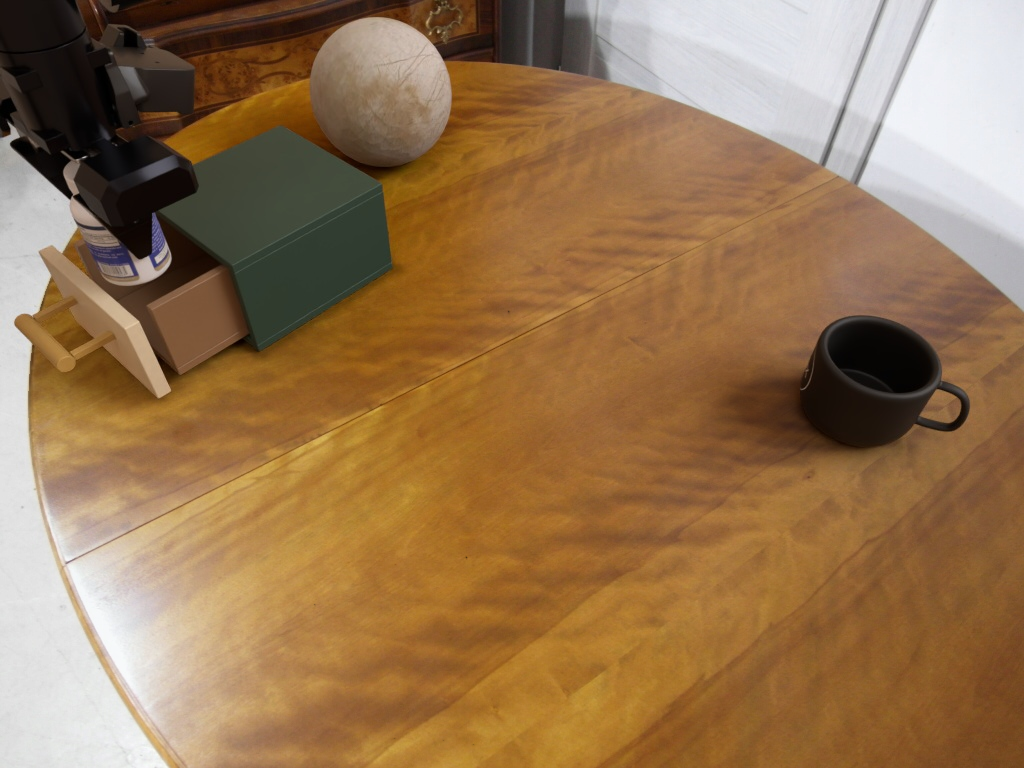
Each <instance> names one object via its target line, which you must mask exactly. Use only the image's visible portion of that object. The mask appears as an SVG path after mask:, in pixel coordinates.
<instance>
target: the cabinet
mask: <svg viewBox="0 0 1024 768" xmlns="http://www.w3.org/2000/svg"><path fill="white" fill-rule="evenodd" d="M192 165H193V168H194V172H195V175H196V178H197V181H198V184H199V187H198V190H197V192H196V193H195V194H192V195H190V196H188V197H186V198H184V199H182V200H180V201H178V202H175V203H173V204H171V205H169V206H167V207H165V208H163V209H160V210H158V211H156V212H155V214H156V215H158V216H159V217H160V218H162V219H163V220H164V221H166V222H167V223H168V224H170V225H171V226H172V227H174V228H175V229H176V230H178V231H179V232H180V233H182V234H183V235H184V236H186V237H187V238H188V239H190V240H191V241H192V242H194V243H195V244H196V245H198V246H199V247H200V248H202V249H203V250H204V251H206V252H207V253H208V254H210V255H211V256H212V257H214V258H215V259H216V260H218V261H219V262H220V263H222V264H223V265H224V266H226V267H227V268H228V269H229V271H230V274H231V278H232V281H233V284H234V287H235V290H236V293H237V296H238V299H239V302H240V305H241V308H242V311H243V315H244V318H245V321H246V324H247V327H248V330H249V334H248V335H246V336H244V337H243V338H242V340H244V341H245V342H247V343H248V344H249V345H250V346H252V348H254V349H255V350H256V351H258V352H259V353H260V352H262V351H263V350H265V349H266V348H268V347H269V346H271V345H272V344H274V343H276V342H278V341H279V340H281V339H283V337H285V336H288V334H290V333H292V332H293V331H295V330H296V329H299V328H300V327H301V326H303V325H305V324H306V323H308V322H309V321H311V320H313V319H314V318H317V316H319V315H321V314H322V313H324V312H326V311H327V310H328V309H331V308H332V307H333V306H335V305H337V304H338V303H340V302H342V301H343V300H345V299H346V298H348V297H350V296H351V295H352V294H354V293H356V292H357V291H359V290H360V289H362V288H364V287H365V286H367V285H369V284H370V283H372V282H373V281H375V280H376V279H378V278H380V277H382V276H383V275H384V274H386V273H388V272H390V271H391V270H392V269H394V267H393V259H392V252H391V250H392V249H391V242H390V234H389V227H388V220H387V219H388V218H387V212H386V211H387V210H386V204H385V195H384V188H383V183H382V182H380V181H379V180H377V179H375V178H374V177H372V176H371V175H369V174H366V173H365V172H364V171H361V170H360V169H358V168H357V167H355V166H353V165H351V164H349V163H348V162H347V161H344V160H343V159H341V158H339V157H337V156H336V155H334V154H332V153H331V152H329V151H327V150H325V149H324V148H322V147H320V146H318V145H317V144H315V143H313V142H312V141H310V140H308V139H306V138H305V137H303V136H301V135H299V134H298V133H297V132H294V131H292V130H291V129H289V128H287V126H286V127H285V126H284V125H283V124H280V125H278V126H275V127H273V128H271V129H269V130H267V131H264V132H262V133H260V134H257V135H256V136H252V137H251V138H249V139H247V140H245V141H242V142H240V143H237V144H236V145H233V146H231V147H229V148H227V149H225V150H223V151H220V152H218V153H216V154H213V155H212V156H210V157H207V158H205V159H203V160H200V161H198V162H196V163H194V164H192Z"/></svg>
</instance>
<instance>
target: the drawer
mask: <svg viewBox="0 0 1024 768" xmlns="http://www.w3.org/2000/svg"><path fill="white" fill-rule="evenodd" d="M155 215H156V214H155ZM156 217H157V220H158V222H159V225H160V227H161V230H162V232H163V235H164V237H165V240H166V242H167V245H168V247H169V250H170V253H171V263H170V265H169V267H168V268H167V270H166V271H165V272H164V273H163V274H162V275H160V276H159V277H157V278H155V279H154V280H151V281H149V282H146V283H143V284H139V285H133V286H121V285H116V284H113V283H110V282H109V281H107V280H106V279H105V278H104V277H103V276H102V274H101V273H100V271H99V269H98V267H97V265H96V263H95V261H94V259H93V257H92V255H91V253H90V251H89V249H88V247H87V245H86V243H85V241H84V239H83V237H82V238H80V239H78V240H76V241H73V242H72V245H73V247H74V249H75V250H76V252H77V255H78V257H79V258H80V260H81V262H82V264H83V266H84V269H85V270H86V271H85V272H86V273H87V274H86V273H85V272H83V270H82V269H81V268H79V266H77V265H76V264H75V263H73V262H72V261H71V260H70V259H69V258H68V257H67V256H66V255H64V253H62V252H61V251H60V250H59V249H57V247H55V246H54V245H53V244H51V245H48V246H47V247H44V248H42V249H40V250H38V251H37V252H38V254H39V256H40V258H41V259H42V262H43V263H44V265H45V267H46V268H47V271H48V273H49V274H50V276H51V278H52V279H53V282H54V283H55V285H56V287H57V289H58V291H59V293H60V294H61V296H62V298H63V299H61V300H59V301H57V302H55V303H53V304H51V305H49V306H47V307H45V308H44V309H41V310H40V311H38V312H36V313H34V314H32V315H31V314H29V313H21V314H19V315H17V316H16V317H15V318H14V320H13V324H14V327H15V328H16V329H17V330H18V332H20V333H21V334H22V335H23V336H24V337H25V338H26V339H27V340H28V342H30V343H31V344H32V345H33V346H34V347H35V349H37V350H38V351H39V353H40V354H42V355H43V356H44V358H46V359H47V360H48V362H49V363H51V365H52V366H54V368H55V369H56V370H57V371H58V372H61V373H68V372H70V371H72V370H73V369H74V368H75V367H76V364H77V361H78V360H80V359H81V358H83V357H85V356H87V355H88V354H91V353H93V352H94V351H96V350H98V349H100V348H101V347H103V348H104V349H105V350H106V351H107V352H108V354H110V355H111V356H112V357H113V358H114V359H115V360H116V361H117V362H119V363H120V364H121V365H122V367H124V368H125V369H126V370H127V371H128V372H129V373H130V374H131V375H132V376H134V378H136V379H137V380H138V381H139V382H140V383H141V384H142V385H143V386H144V387H145V388H146V389H147V390H148V391H149V392H150V393H152V395H154V396H155V397H156V398H157V399H162V398H163V397H165V396H166V395H167V394H169V393H171V392H172V389H171V387H170V385H169V383H168V381H167V379H166V378H167V377H166V376H165V373H164V372H163V370H162V368H161V365H160V363H159V361H158V358H157V357H156V356H158V357H159V358H160V359H161V360H162V361H163V362H164V363H165V364H167V365H168V367H170V368H171V369H172V370H173V371H175V372H176V374H178V375H179V376H182V375H183V374H185V373H187V372H189V371H190V370H192V369H193V368H195V367H197V366H198V365H200V364H202V363H203V362H205V361H207V360H208V359H210V358H212V357H213V356H214V355H217V354H218V353H220V352H222V350H225V349H226V348H228V347H230V346H231V345H233V344H234V343H236V342H238V341H239V340H241V339H243V337H244V336H246V335H248V334H249V330H248V327H247V324H246V321H245V318H244V315H243V311H242V308H241V305H240V302H239V299H238V296H237V293H236V290H235V287H234V284H233V281H232V278H231V274H230V271H229V269H228V268H227V267H226V266H224V265H223V264H222V263H220V262H219V261H218V260H216V259H215V258H214V257H212V256H211V255H210V254H208V253H207V252H206V251H204V250H203V249H202V248H200V247H199V246H198V245H196V244H195V243H194V242H192V241H191V240H190V239H188V238H187V237H186V236H184V235H183V234H182V233H180V232H179V231H178V230H176V229H175V228H174V227H172V226H171V225H170V224H168V223H167V222H166V221H164V220H163V219H162V218H160V217H159V216H158V215H156ZM66 310H69V311H70V313H71V314H72V317H73V318H74V320H75V322H76V323H77V324H78V325H79V326H80V327H81V328H82V329H83V330H85V331H86V332H87V333H88V334H89V335H90V336H91V337H92V339H91V340H88V341H87V342H85V343H83V344H81V345H79V346H78V347H76V348H73V349H72V350H70V351H68V350H67V349H66V348H65V347H64V346H63V345H62V344H61V343H60V342H59V341H58V340H57V339H56V338H54V336H53V335H51V333H50V332H49V331H48V330H46V329H45V327H44V326H42V324H40V323H43V322H45V321H47V320H48V319H50V318H52V317H54V316H57V315H58V314H60V313H62V312H64V311H66Z"/></svg>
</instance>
